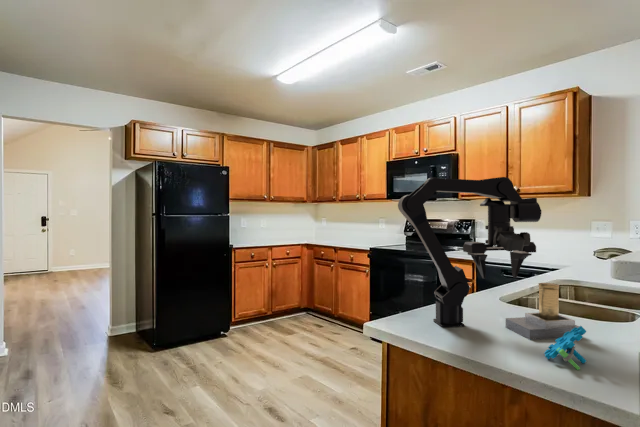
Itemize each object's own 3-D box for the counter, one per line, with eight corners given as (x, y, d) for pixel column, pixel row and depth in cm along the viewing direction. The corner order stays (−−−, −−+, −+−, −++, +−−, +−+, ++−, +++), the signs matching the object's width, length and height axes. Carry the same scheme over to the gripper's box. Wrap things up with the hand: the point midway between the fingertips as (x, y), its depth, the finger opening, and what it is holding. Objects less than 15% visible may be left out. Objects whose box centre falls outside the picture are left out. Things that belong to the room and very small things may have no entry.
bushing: (549, 335, 96) (549, 286, 96) (534, 330, 101) (534, 283, 101) (563, 333, 98) (563, 285, 98) (547, 328, 102) (547, 282, 102)
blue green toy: (546, 341, 88) (582, 317, 82) (568, 362, 85) (607, 340, 80) (536, 362, 79) (576, 337, 74) (560, 387, 77) (603, 363, 72)
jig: (529, 339, 93) (529, 323, 93) (505, 327, 103) (505, 312, 103) (581, 337, 95) (581, 321, 95) (553, 325, 105) (553, 310, 105)
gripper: (482, 223, 97) (483, 284, 97) (550, 222, 99) (550, 282, 99) (462, 222, 108) (462, 276, 108) (523, 221, 110) (523, 275, 110)
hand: (499, 277), depth 106 cm, fingers open, 9 cm apart
